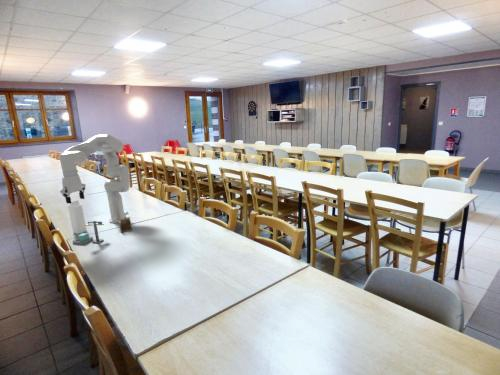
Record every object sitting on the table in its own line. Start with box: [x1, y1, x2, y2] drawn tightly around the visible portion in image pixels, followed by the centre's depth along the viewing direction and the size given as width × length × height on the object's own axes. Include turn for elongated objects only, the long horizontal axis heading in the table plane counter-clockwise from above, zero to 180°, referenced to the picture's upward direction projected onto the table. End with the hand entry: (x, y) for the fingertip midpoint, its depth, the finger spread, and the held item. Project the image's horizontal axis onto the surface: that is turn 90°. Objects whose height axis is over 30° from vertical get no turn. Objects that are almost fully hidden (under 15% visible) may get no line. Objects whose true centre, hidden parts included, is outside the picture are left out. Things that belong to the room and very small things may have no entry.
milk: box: [67, 200, 88, 235], centre depth 209 cm, size 6×6×22 cm
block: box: [77, 232, 90, 242], centre depth 192 cm, size 4×4×4 cm
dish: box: [72, 236, 94, 246], centre depth 193 cm, size 8×8×2 cm
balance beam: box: [84, 220, 105, 227], centre depth 189 cm, size 4×13×2 cm, turn 161°
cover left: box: [118, 217, 133, 234], centre depth 209 cm, size 7×7×7 cm
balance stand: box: [91, 223, 104, 244], centre depth 190 cm, size 5×4×12 cm
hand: (75, 200), depth 187 cm, fingers open, 9 cm apart
